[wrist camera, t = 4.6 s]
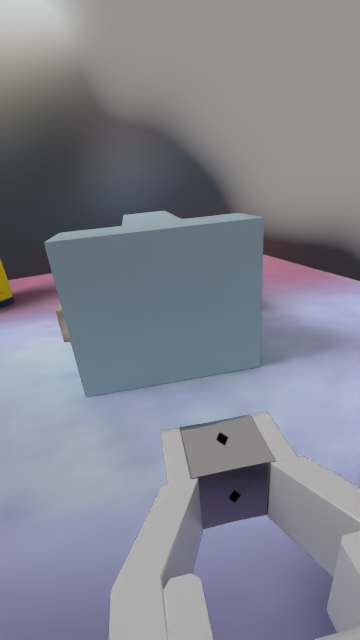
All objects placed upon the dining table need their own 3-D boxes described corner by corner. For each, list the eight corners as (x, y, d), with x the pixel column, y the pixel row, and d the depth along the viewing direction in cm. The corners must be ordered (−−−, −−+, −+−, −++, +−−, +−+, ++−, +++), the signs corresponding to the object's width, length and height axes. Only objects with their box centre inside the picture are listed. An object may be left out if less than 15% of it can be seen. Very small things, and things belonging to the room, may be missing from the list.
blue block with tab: (85, 397, 20) (44, 242, 16) (101, 316, 32) (80, 219, 28) (260, 366, 21) (263, 217, 17) (209, 300, 34) (204, 206, 30)
